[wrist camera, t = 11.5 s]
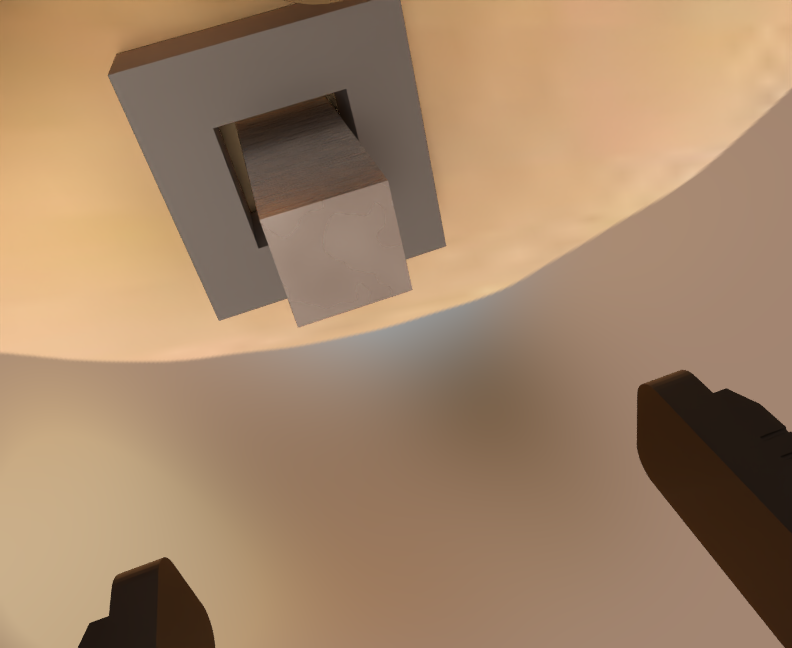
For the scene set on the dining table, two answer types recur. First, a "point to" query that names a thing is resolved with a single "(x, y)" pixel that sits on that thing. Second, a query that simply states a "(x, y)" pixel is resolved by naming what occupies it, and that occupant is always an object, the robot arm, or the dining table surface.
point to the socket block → (263, 92)
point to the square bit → (323, 210)
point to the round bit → (314, 1)
